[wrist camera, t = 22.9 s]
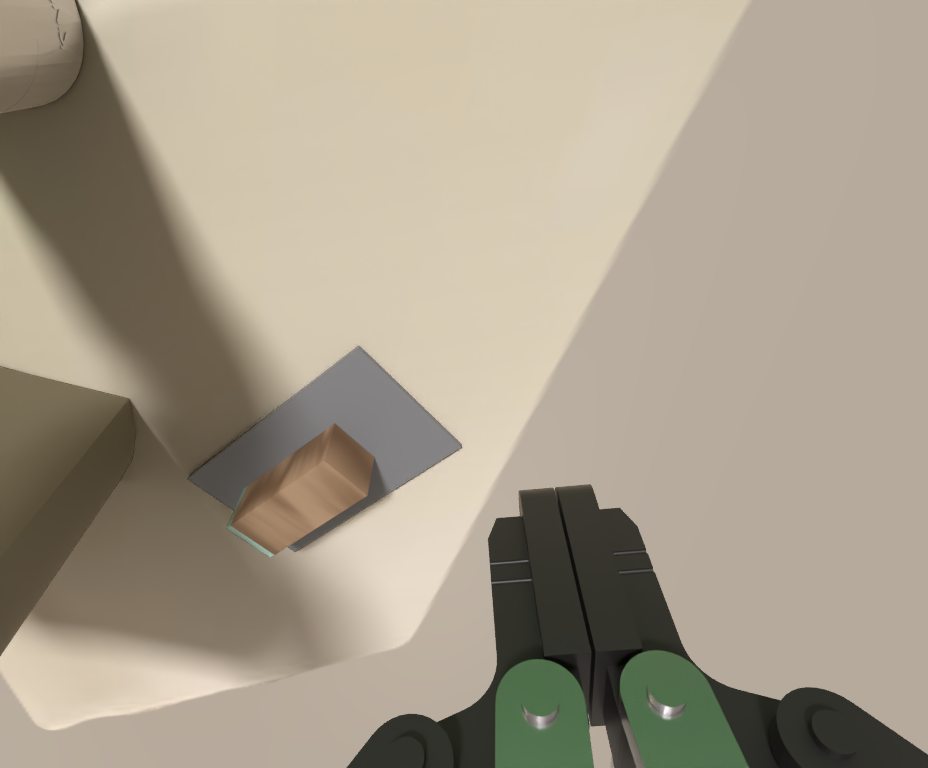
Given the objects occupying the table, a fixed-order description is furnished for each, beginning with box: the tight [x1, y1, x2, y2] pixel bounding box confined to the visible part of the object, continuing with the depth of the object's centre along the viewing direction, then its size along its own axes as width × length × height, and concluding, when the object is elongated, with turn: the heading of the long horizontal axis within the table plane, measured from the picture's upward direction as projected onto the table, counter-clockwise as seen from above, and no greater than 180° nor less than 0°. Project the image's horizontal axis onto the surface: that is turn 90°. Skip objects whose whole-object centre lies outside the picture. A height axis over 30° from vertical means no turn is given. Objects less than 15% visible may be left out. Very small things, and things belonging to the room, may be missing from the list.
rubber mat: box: [188, 346, 461, 552], centre depth 46 cm, size 20×12×1 cm, turn 128°
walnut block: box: [226, 423, 374, 558], centre depth 44 cm, size 4×4×11 cm
